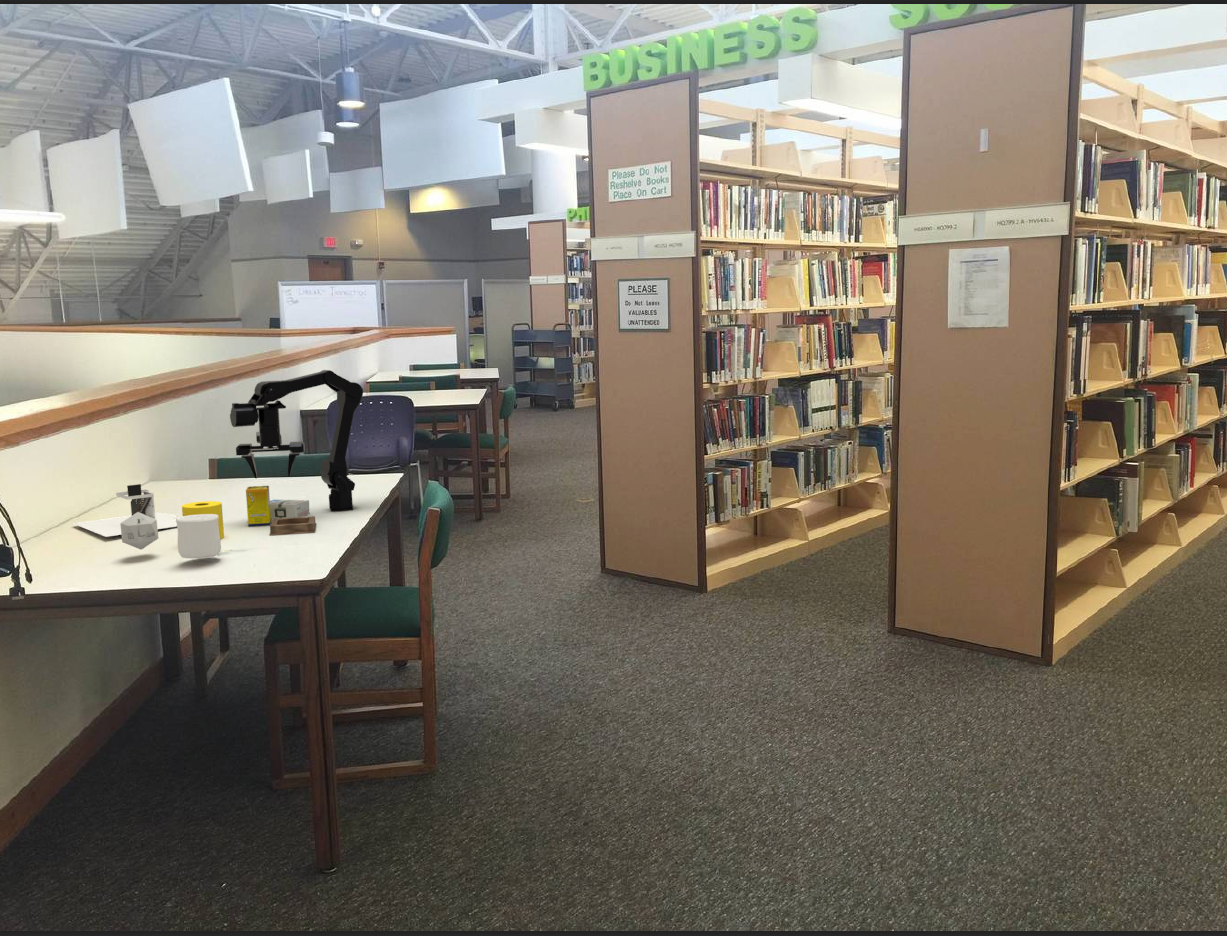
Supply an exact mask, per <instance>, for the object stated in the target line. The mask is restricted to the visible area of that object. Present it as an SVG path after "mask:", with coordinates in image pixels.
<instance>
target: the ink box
mask: <svg viewBox="0 0 1227 936" xmlns="http://www.w3.org/2000/svg"><path fill="white" fill-rule="evenodd" d="M270 512H271V519H279V518H295V517H306V516H308V515H310V514H311V513H310V501H309V499H272V500H270ZM307 514H308V515H307Z"/></svg>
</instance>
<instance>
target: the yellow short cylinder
mask: <svg viewBox="0 0 1227 936" xmlns="http://www.w3.org/2000/svg"><path fill="white" fill-rule="evenodd" d="M181 510H182V511H181V512H182V516H189V515H199V514H216V515H218V516H219V517H218V526H219V534H220V540H221V539H224V538H225V531H224V518H223V504H222V502H221V501H217V500H215V501H213V500H210V501H208V500H205V501H195V502H194V501H193V502H189V503H188V502H187V503H185V504H182V505H181Z"/></svg>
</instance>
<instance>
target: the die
mask: <svg viewBox="0 0 1227 936" xmlns="http://www.w3.org/2000/svg"><path fill="white" fill-rule="evenodd" d="M131 515H132V514H131ZM120 524H121V535H120V536H121V542H122V543H124V544H125V545H129V546H130V547H133V548H136V549H138V550H144V548H146V547H148V546H149V545H150V544H152V543H154V542H155V541H157V540H158V539H159V529H157V520H156V519H154V518H151V517H149V516H146V515H144V514H142V513H139V512H137V513H135V514H134V515H132V516H131V517H129V518H128V519H126V520H125V521H123V522H122V523H120Z"/></svg>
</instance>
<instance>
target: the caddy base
mask: <svg viewBox="0 0 1227 936" xmlns="http://www.w3.org/2000/svg"><path fill="white" fill-rule="evenodd" d="M317 525H318V524H317V523H316V516H303V517H295V518H279V519H273V520H271V523H270V525H269V534H268V535H269V536H280V535H281V536H282V535H297V534H313V533H316V530H317V529H316V528H317Z"/></svg>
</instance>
